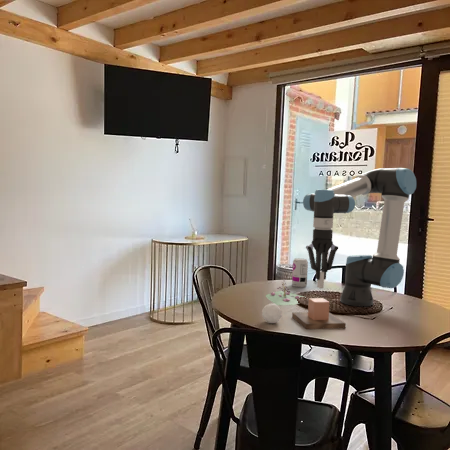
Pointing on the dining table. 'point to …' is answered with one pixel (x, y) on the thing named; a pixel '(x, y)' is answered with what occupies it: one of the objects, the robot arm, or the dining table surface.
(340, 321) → the post stand
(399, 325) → the dining table surface
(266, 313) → the geometric ball
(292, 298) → the plant
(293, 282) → the supplement can
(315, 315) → the salmon pink block
